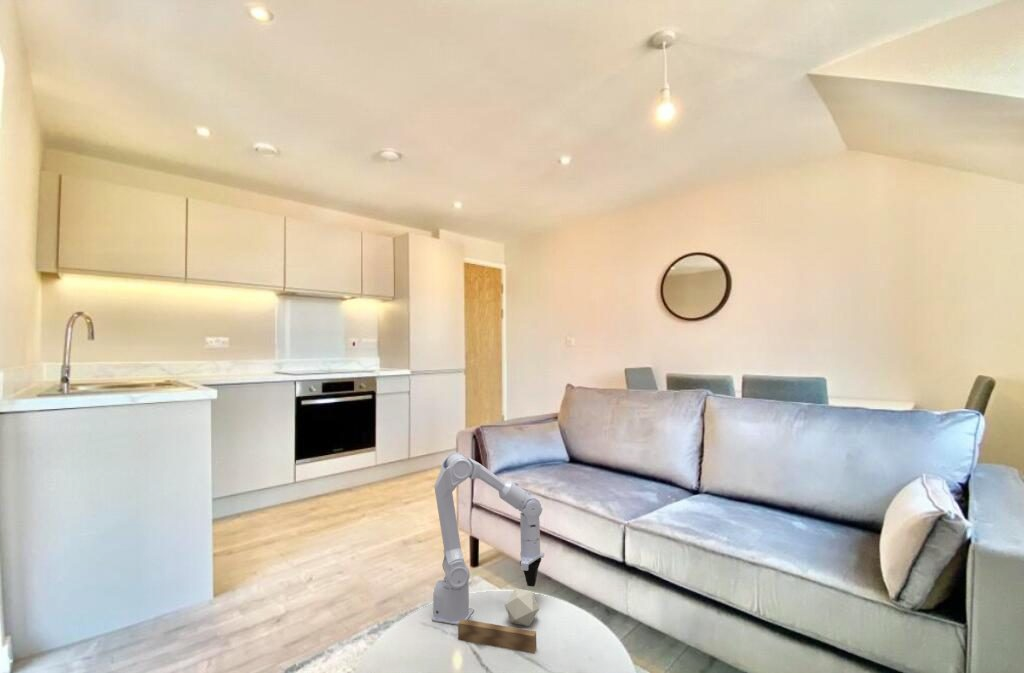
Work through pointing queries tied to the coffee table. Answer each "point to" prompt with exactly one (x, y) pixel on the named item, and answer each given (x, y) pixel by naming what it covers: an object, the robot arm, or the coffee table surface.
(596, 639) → the coffee table surface
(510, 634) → the walnut board
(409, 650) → the coffee table surface
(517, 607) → the die
